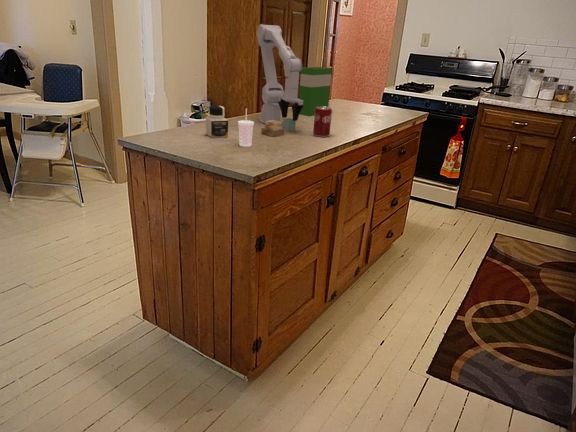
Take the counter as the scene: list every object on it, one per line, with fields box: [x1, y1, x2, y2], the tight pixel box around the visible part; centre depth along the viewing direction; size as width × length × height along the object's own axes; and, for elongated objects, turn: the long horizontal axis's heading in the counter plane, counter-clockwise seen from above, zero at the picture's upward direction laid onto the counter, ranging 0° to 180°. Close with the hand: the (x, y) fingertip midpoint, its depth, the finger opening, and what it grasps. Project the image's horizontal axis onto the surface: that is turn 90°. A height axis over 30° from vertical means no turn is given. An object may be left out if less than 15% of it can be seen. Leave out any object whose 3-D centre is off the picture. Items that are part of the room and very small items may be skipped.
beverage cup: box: [237, 108, 255, 148], centre depth 166 cm, size 6×6×14 cm
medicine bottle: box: [205, 104, 229, 139], centre depth 178 cm, size 7×7×12 cm
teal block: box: [282, 117, 297, 132], centre depth 197 cm, size 4×4×5 cm
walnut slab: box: [260, 127, 285, 138], centre depth 188 cm, size 7×7×3 cm
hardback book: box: [298, 66, 333, 117], centre depth 237 cm, size 18×7×24 cm, turn 141°
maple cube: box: [264, 120, 283, 131], centre depth 187 cm, size 5×5×3 cm
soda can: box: [312, 106, 333, 138], centre depth 190 cm, size 7×7×12 cm
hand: (289, 119), depth 196 cm, fingers open, 7 cm apart
